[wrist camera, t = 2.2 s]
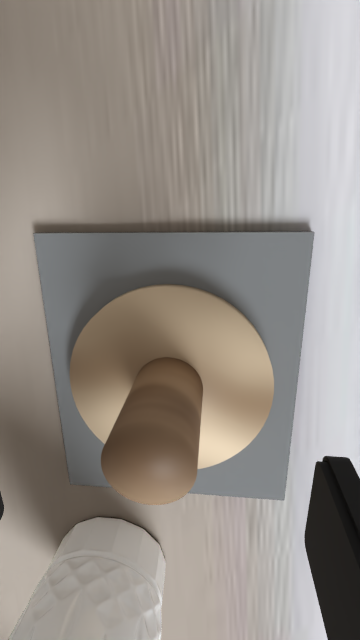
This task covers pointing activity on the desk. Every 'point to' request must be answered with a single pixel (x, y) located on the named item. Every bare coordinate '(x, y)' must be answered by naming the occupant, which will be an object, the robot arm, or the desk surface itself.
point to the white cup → (98, 587)
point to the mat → (195, 271)
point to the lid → (169, 387)
